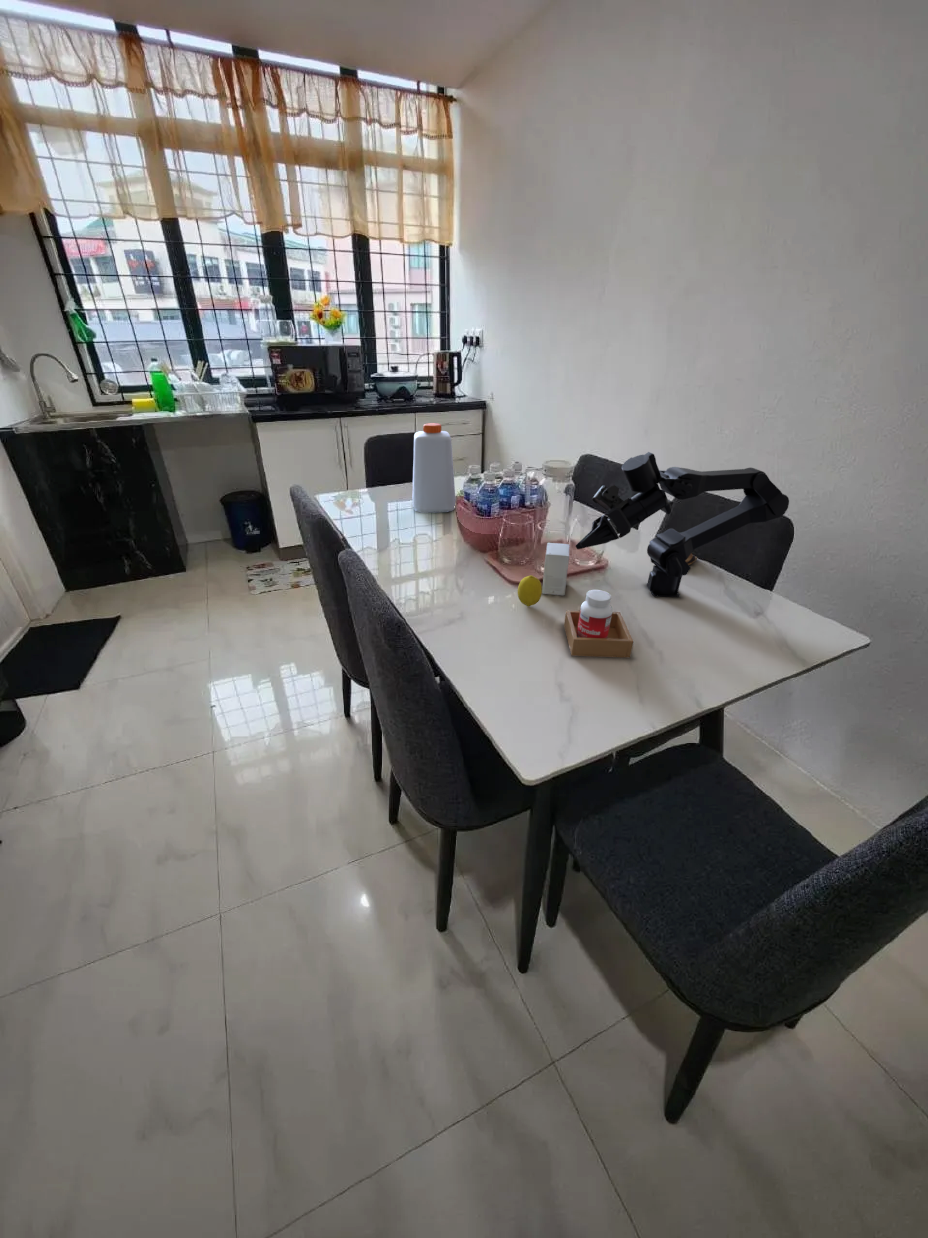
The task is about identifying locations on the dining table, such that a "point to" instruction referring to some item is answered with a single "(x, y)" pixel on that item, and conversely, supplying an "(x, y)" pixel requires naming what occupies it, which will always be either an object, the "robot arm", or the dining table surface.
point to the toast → (691, 559)
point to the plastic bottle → (433, 470)
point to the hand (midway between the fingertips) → (578, 546)
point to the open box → (611, 646)
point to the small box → (556, 568)
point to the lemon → (529, 590)
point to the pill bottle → (595, 615)
